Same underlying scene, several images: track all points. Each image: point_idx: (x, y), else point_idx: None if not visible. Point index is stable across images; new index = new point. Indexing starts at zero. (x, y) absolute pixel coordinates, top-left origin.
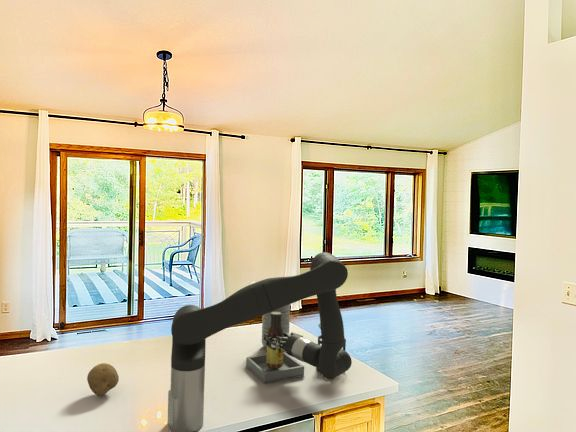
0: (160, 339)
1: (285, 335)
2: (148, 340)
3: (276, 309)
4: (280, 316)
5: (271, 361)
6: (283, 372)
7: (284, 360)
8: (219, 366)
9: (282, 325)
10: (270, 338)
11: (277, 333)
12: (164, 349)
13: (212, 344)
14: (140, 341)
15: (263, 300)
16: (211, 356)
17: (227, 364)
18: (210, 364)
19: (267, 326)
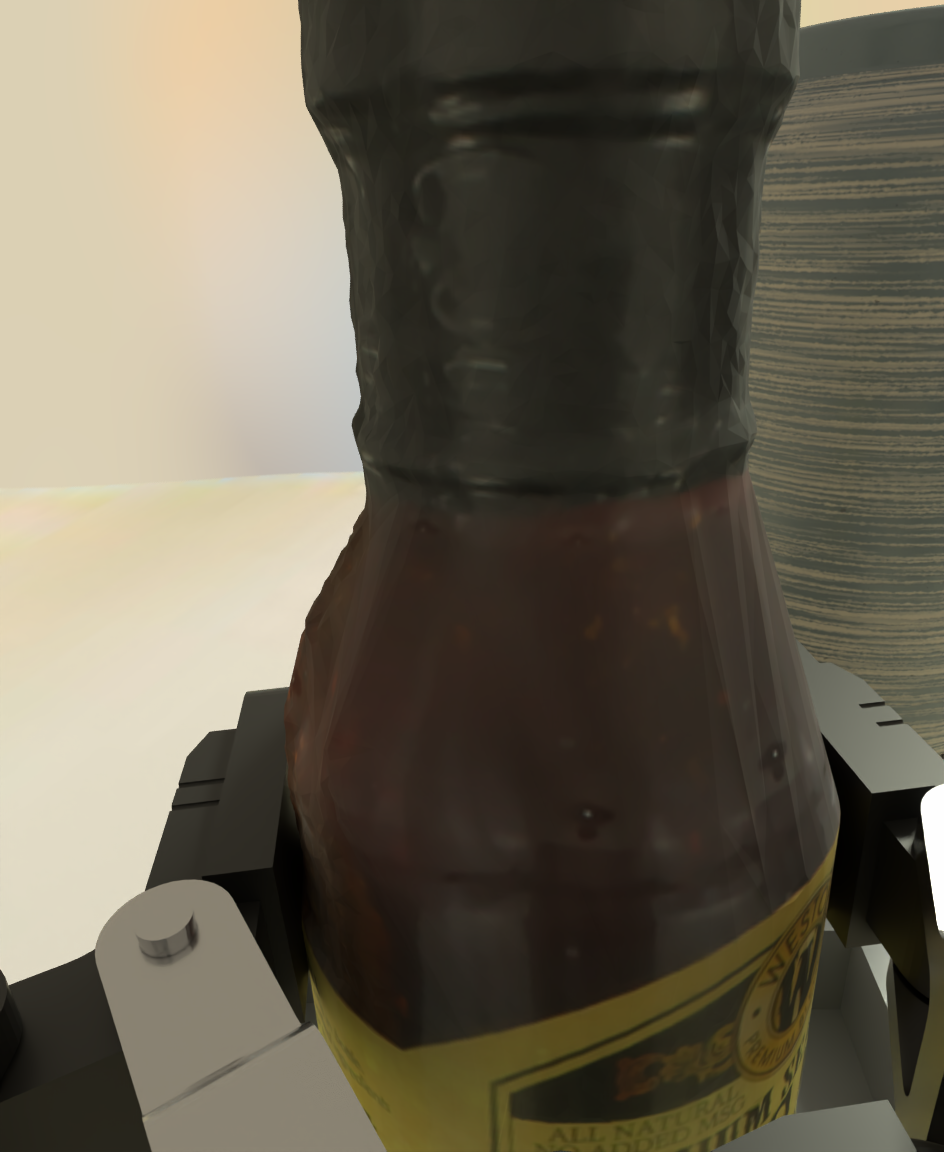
0: (119, 496)
1: (898, 870)
2: (60, 495)
3: (864, 223)
4: (681, 19)
5: None
6: None
7: (868, 1078)
8: (29, 878)
9: (942, 485)
10: (108, 1007)
11: (495, 824)
12: (14, 568)
13: (328, 573)
14: (18, 496)
15: None
16: (163, 699)
17: (136, 866)
18: (9, 814)
19: None
